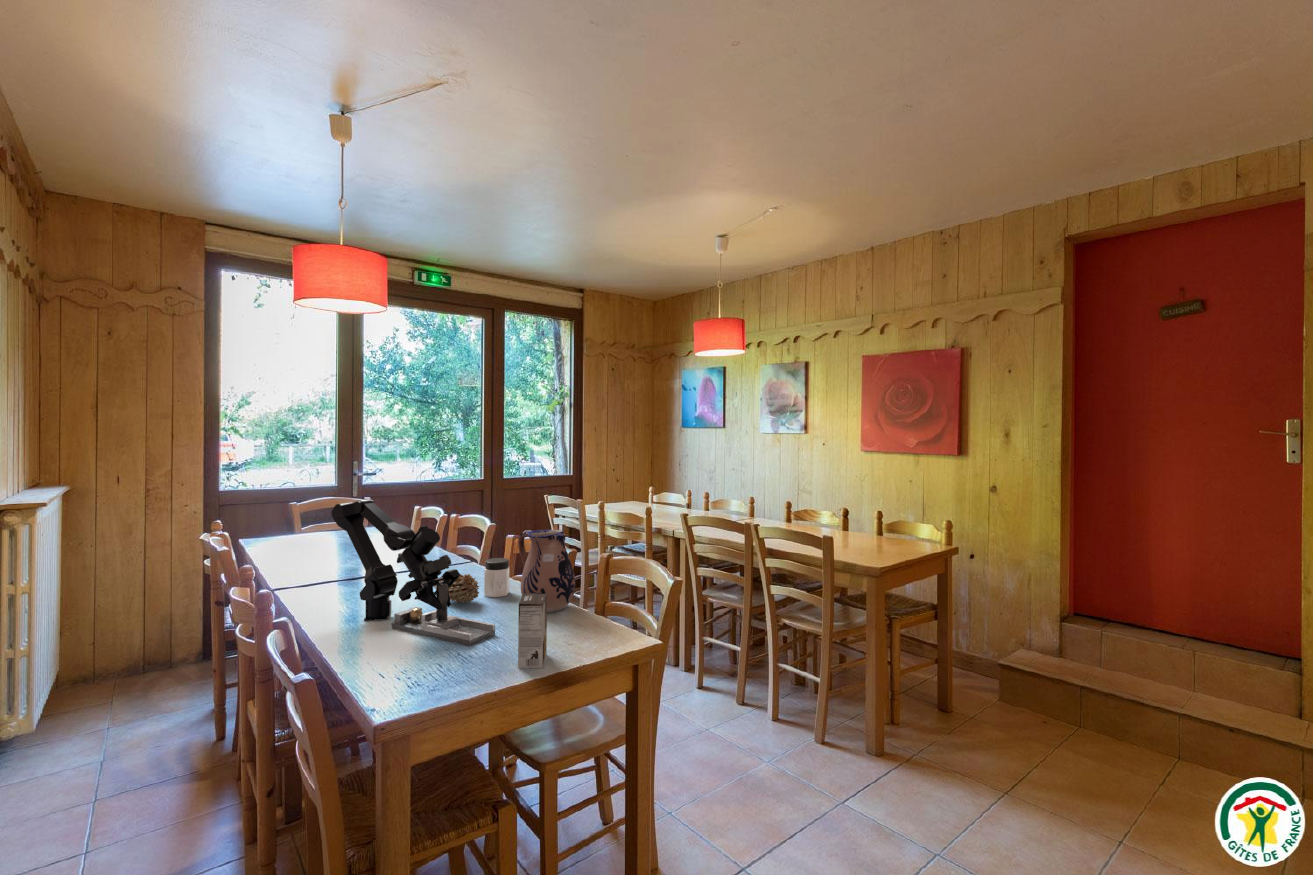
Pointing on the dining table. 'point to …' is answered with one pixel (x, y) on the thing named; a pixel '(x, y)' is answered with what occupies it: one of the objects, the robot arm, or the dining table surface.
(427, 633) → the base
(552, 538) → the ceramic pitcher
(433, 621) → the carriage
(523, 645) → the coffee box
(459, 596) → the pine cone
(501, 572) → the jar
